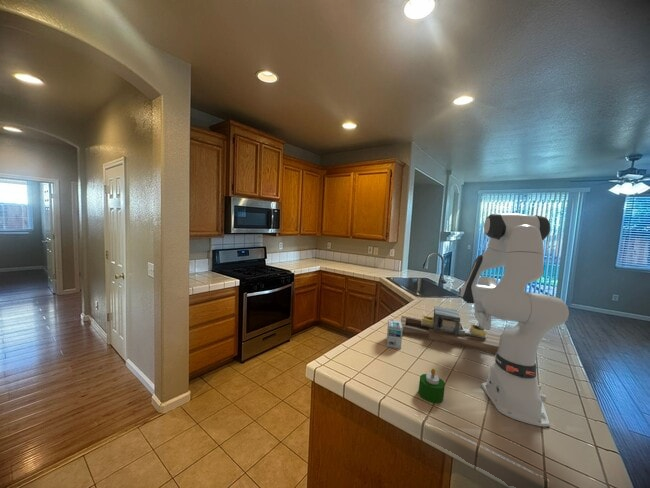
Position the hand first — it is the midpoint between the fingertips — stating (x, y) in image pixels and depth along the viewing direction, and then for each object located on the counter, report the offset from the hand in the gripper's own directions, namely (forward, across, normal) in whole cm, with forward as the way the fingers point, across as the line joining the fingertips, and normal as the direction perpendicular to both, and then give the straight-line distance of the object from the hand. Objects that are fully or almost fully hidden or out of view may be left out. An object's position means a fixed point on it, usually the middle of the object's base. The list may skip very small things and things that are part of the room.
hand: (480, 331), depth 136 cm
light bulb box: (+7, -24, +43) cm, 49 cm away
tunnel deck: (+7, 0, +14) cm, 16 cm away
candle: (+7, -59, +26) cm, 65 cm away
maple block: (+3, 0, +14) cm, 15 cm away
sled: (+2, 0, +14) cm, 14 cm away
